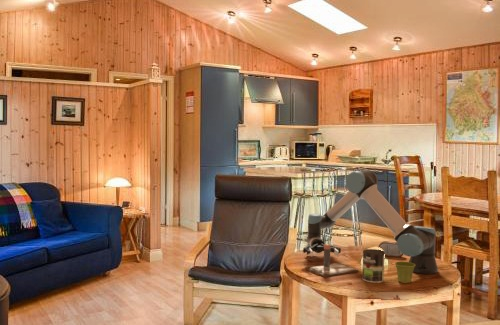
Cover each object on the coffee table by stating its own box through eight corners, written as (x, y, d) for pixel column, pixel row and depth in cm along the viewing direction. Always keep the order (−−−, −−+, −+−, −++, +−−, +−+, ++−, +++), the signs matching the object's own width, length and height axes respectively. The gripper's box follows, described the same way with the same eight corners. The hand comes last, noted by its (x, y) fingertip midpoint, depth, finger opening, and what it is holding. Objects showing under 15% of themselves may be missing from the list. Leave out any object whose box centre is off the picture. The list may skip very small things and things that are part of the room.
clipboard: (358, 271, 255) (358, 267, 255) (324, 277, 244) (324, 273, 244) (338, 264, 269) (338, 260, 269) (305, 269, 258) (305, 265, 258)
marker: (331, 270, 253) (332, 245, 252) (326, 271, 251) (326, 245, 250) (327, 268, 256) (327, 243, 255) (322, 269, 254) (322, 244, 253)
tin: (404, 256, 289) (405, 242, 288) (404, 258, 286) (404, 243, 285) (378, 254, 294) (378, 240, 294) (377, 255, 291) (378, 241, 291)
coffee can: (376, 284, 234) (377, 255, 233) (358, 279, 241) (358, 251, 241) (387, 280, 241) (388, 251, 240) (369, 275, 249) (370, 248, 248)
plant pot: (414, 285, 233) (415, 267, 233) (393, 283, 237) (394, 265, 236) (414, 279, 242) (415, 262, 242) (394, 277, 245) (395, 260, 245)
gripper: (339, 251, 279) (348, 261, 258) (295, 251, 277) (301, 261, 256) (339, 238, 278) (348, 246, 257) (295, 238, 277) (301, 246, 256)
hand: (324, 253), depth 257 cm, fingers open, 13 cm apart
